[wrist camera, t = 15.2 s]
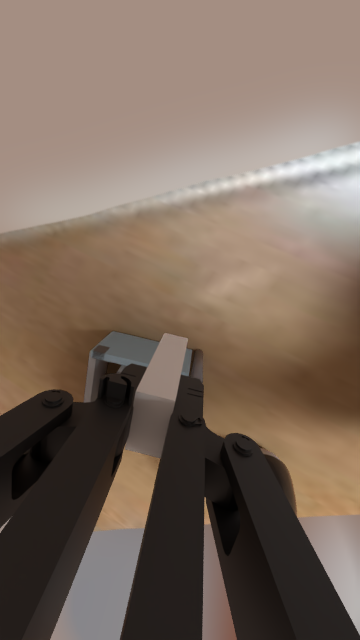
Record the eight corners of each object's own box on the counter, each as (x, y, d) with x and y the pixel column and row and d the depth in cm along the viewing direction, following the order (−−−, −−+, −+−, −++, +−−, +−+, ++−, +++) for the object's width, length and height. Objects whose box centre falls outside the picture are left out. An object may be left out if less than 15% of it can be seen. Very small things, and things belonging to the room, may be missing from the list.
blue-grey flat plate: (192, 349, 41) (189, 373, 33) (190, 355, 41) (187, 380, 34) (112, 330, 41) (91, 350, 34) (111, 336, 42) (90, 357, 34)
